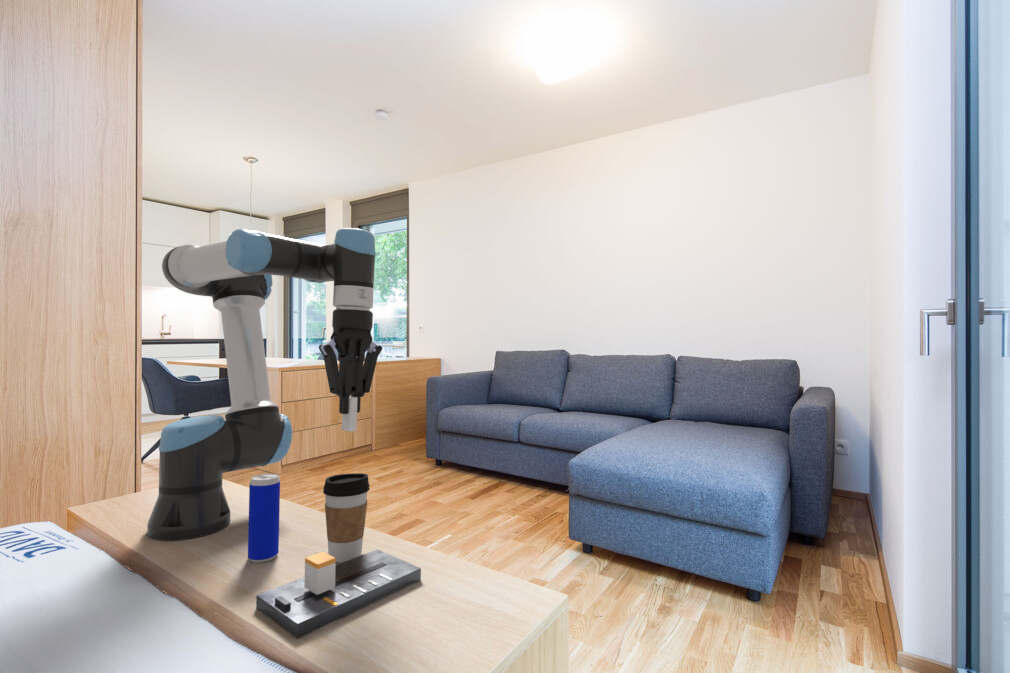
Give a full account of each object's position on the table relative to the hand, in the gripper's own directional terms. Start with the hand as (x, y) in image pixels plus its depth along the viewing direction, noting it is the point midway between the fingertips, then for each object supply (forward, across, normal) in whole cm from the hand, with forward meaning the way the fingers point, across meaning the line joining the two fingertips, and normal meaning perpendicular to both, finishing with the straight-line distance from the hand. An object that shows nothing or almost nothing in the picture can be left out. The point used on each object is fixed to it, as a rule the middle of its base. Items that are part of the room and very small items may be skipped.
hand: (349, 430), depth 96 cm
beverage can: (+24, -12, +8) cm, 28 cm away
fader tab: (+21, -14, -15) cm, 29 cm away
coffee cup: (+23, -2, -2) cm, 24 cm away
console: (+23, -10, -15) cm, 29 cm away
